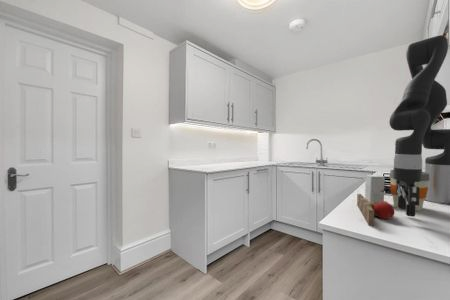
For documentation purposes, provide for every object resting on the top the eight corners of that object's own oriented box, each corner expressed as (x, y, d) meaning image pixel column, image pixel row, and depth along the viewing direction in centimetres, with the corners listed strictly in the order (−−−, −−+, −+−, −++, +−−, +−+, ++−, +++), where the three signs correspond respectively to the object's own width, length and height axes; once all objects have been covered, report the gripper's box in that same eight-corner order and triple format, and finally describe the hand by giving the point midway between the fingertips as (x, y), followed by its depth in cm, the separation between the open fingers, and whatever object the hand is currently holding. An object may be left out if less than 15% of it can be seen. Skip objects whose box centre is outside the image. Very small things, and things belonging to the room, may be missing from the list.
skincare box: (370, 203, 92) (371, 176, 92) (364, 200, 97) (364, 174, 96) (384, 203, 92) (385, 176, 91) (377, 200, 96) (378, 174, 96)
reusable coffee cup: (386, 206, 87) (387, 171, 86) (390, 200, 96) (391, 168, 95) (427, 214, 78) (429, 175, 77) (428, 207, 87) (429, 171, 86)
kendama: (352, 208, 90) (374, 217, 72) (355, 194, 90) (377, 199, 72) (372, 212, 88) (399, 223, 70) (374, 198, 88) (402, 204, 71)
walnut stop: (357, 205, 89) (357, 193, 89) (360, 205, 89) (361, 194, 89) (368, 225, 68) (369, 210, 68) (373, 226, 67) (374, 210, 67)
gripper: (431, 170, 64) (429, 220, 65) (413, 165, 77) (411, 207, 78) (400, 168, 68) (399, 217, 68) (388, 164, 81) (387, 205, 81)
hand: (405, 212), depth 73 cm, fingers open, 8 cm apart
